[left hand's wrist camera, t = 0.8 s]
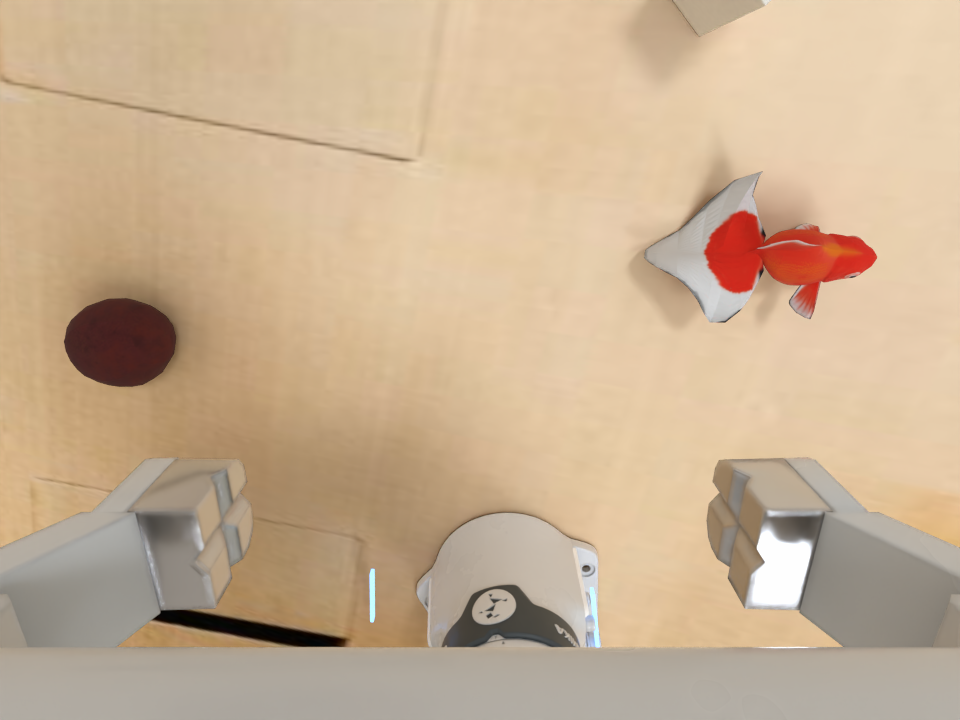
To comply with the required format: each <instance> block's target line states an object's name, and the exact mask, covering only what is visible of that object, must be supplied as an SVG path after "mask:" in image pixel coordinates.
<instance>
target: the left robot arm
mask: <svg viewBox="0 0 960 720" xmlns="http://www.w3.org/2000/svg"><path fill="white" fill-rule="evenodd" d="M246 483H247V477H246V473H245V468H244V464H243V463H242V462H241V461H240V460H239V459H211V458H178V457H174V458H150V459H145V460H144V461H143V462H142V463H141V464H140V465H139V466H138V467H137V468H136V469H135V470H134V471H133V472H132V473H131V474H130V475H129V476H128V477H127V478H126V479H125V480H124V481H123V482H122V483H121V484H120V485H118V486H117V487H116V488H115V489H114V490H113V491H112V492H111V493H110V494H109V495H108V496H107V497H106V498H105V499H104V500H103V501H102V502H101V503H100V504H99V505H98V506H97V507H96V508H95V509H94V510H93V511H92V512H81V513H79V514H76V515H74V516H72V517H69V518H67V519H65V520H62V521H60V522H58V523H56V524H53V525H51V526H49V527H46V528H44V529H42V530H40V531H37V532H35V533H33V534H30V535H28V536H26V537H23V538H21V539H19V540H17V541H14V542H12V543H10V544H7V545H5V546H3V547H1V548H0V720H960V548H959V547H957V546H955V545H952V544H950V543H948V542H946V541H943V540H941V539H939V538H936V537H934V536H932V535H930V534H927V533H925V532H923V531H920V530H918V529H916V528H913V527H911V526H909V525H907V524H904V523H902V522H900V521H897V520H895V519H893V518H891V517H888V516H886V515H884V514H881V513H879V512H868V511H867V510H866V509H865V508H864V507H863V506H862V505H861V504H860V503H859V502H858V501H857V500H856V499H855V498H854V497H853V496H852V495H851V494H850V493H849V492H848V491H847V490H846V489H845V488H844V487H843V486H842V485H841V484H840V483H839V482H838V481H837V480H836V479H834V478H833V477H832V476H831V475H830V474H829V473H828V472H827V471H826V470H825V469H824V468H823V467H822V466H821V465H820V464H819V463H818V462H817V461H816V460H814V459H811V458H808V457H801V458H771V459H730V460H719V461H718V463H717V466H716V468H715V471H714V477H713V483H714V484H715V486H716V488H717V489H718V491H719V492H720V493H719V494H718V495H717V496H716V497H715V498H714V499H713V500H712V501H711V502H710V503H709V507H708V514H707V530H708V538H709V541H710V544H711V548H712V550H713V552H714V554H715V555H716V557H717V559H718V560H720V561H721V562H723V563H724V564H726V565H727V566H729V567H730V569H729V575H728V579H729V581H730V583H731V585H732V586H733V588H734V590H735V592H736V594H737V595H738V597H739V599H740V601H741V603H742V604H743V606H744V608H745V609H777V610H800V612H799V613H801V614H802V615H803V616H805V617H806V618H807V619H808V620H810V621H811V622H812V623H814V624H815V625H816V626H817V627H819V628H820V629H821V630H823V631H824V632H825V633H826V634H828V635H829V636H830V637H832V638H833V639H834V640H835V641H837V642H838V643H839V644H841V645H842V646H843V647H601V640H600V635H599V632H598V555H597V550H596V549H595V548H594V547H593V546H592V545H590V544H587V543H585V542H581V541H578V540H574V539H570V538H569V537H567V536H565V535H564V534H562V533H561V532H560V531H559V530H557V529H556V528H555V527H553V526H552V525H550V524H549V523H547V522H545V521H543V520H541V519H538V518H536V517H533V516H529V515H525V514H519V513H495V514H490V515H485V516H482V517H479V518H476V519H473V520H471V521H469V522H467V523H466V524H464V525H462V526H461V527H459V528H458V529H457V530H455V531H454V532H453V533H452V534H451V535H450V536H449V537H448V538H447V540H446V541H445V542H444V544H443V545H442V547H441V549H440V551H439V553H438V556H437V559H436V561H435V564H434V566H433V567H432V568H431V569H430V570H429V571H428V572H427V573H426V574H425V575H424V576H423V577H422V578H421V579H420V580H419V582H418V583H417V596H418V598H419V600H420V601H421V603H422V604H423V606H424V607H425V609H426V610H427V612H428V633H427V640H428V645H429V647H117V646H118V645H120V644H121V643H122V642H124V641H125V640H126V639H127V638H129V637H130V636H131V635H133V634H134V633H135V632H136V631H138V630H139V629H140V628H142V627H143V626H144V625H145V624H147V623H148V622H149V621H151V620H152V619H153V618H154V617H156V616H157V615H158V614H160V610H182V609H215V608H216V606H217V604H218V603H219V601H220V599H221V597H222V595H223V594H224V592H225V590H226V588H227V586H228V585H229V583H230V581H231V579H232V575H231V569H230V567H231V566H233V565H234V564H236V563H237V562H239V561H240V560H242V559H243V557H244V555H245V554H246V552H247V550H248V548H249V545H250V540H251V536H252V532H253V513H252V506H251V503H250V502H249V501H248V500H247V499H246V498H245V497H244V496H243V495H242V494H241V493H240V492H241V491H242V489H243V488H244V486H245V484H246ZM585 565H588V566H587V567H583V566H585ZM374 618H375V573H374V569H371V572H370V622H374Z"/></svg>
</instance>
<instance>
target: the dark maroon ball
mask: <svg viewBox="0 0 960 720" xmlns="http://www.w3.org/2000/svg"><path fill="white" fill-rule="evenodd" d="M175 343H176V335H175V331H174V328H173V325H172V324H171V322H170V321H169V320H168V318H167V317H166V316H165V315H164V314H162V313H161V312H160V311H158V310H157V309H155V308H154V307H152V306H150V305H147V304H144V303H141V302H138V301H135V300H131V299H126V298H123V299H107V300H103V301H100V302H98V303H95V304H92V305H89V306H87V307H86V308H84V309H83V310H82V311H81V312H80V313H78V314H77V315H76V316H75V317H74V318H73V319H72V320H71V321H70V323H69V325H68V327H67V329H66V335H65V340H64V344H65V349H66V352H67V354H68V357H69V359H70V361H71V362H72V363H73V365H74V366H75V367H76V368H77V370H79V371H80V372H81V373H82V374H83V375H84V376H86V377H89V378H91V379H93V380H95V381H97V382H100V383H103V384H107V385H112V386H119V387H133V386H138V385H143V384H145V383H147V382H148V381H150V380H152V379H154V378H155V377H156V376H158V375H159V374H160V373H162V372H163V370H164V369H165V367H166V366H167V364H168V362H169V361H170V359H171V358H172V356H173V354H174V350H175Z"/></svg>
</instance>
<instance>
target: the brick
mask: <svg viewBox="0 0 960 720" xmlns="http://www.w3.org/2000/svg"><path fill="white" fill-rule="evenodd" d="M673 1H674V3H675V4H676V6H677V7H678V8H679V10H680V11H681V12H682V14H683V15H684V17H685V18H686V19H687V21H688V22H689V24H690V25H691V26H692V28H693V29H694V30H695V32H696V33H697V35H698V36H699V37H700V36H702V35H704V34H706V33H709V32H711V31H713V30H715V29H717V28H719V27H721V26H723V25H725V24H728V23H730V22H732V21H734V20H736V19H738V18H740V17H742V16H744V15H747V14H749V13H751V12H753V11H755V10H757V9H759V8H761V7H763V6H766V5H767V4H768V3H769V2H770V1H771V0H673Z"/></svg>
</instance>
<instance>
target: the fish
mask: <svg viewBox="0 0 960 720" xmlns="http://www.w3.org/2000/svg"><path fill="white" fill-rule="evenodd" d="M762 172H763V171H762ZM762 172H759V173H756V174H753V175H749V176H746V177H743V178H740V179H737V180H734V181H733V182H732V183H730V184H729V185H728V186H727V187H726V188H724V189H723V190H722V191H721V192H719V193H718V194H717V195H716V196H715V197H713V198H712V199H711V200H710V201H709V202H708V203H707V204H706V205H705V206H704V207H703V208H702V209H701V210H700V211H699V212H698V213H697V214H696V215H695V216H694V217H693V218H692V219H691V220H690V221H688V222H687V223H686V224H685V225H684V226H683V227H682V228H681V229H680V230H679V231H677V232H675V233H673V234H671V235H669V236H667V237H666V238H664V239H662V240H661V241H659V242H657V243H655V244H654V245H652V246H650V247H649V248H647V249H646V250H645V257H644V258H645V259H646V260H647V261H648V262H649V263H651V264H653V265H654V266H656V267H657V268H659V269H661V270H663V271H665V272H666V273H668V274H670V275H672V276H674V277H676V278H678V279H679V280H680V281H681V282H682V283H683V284H685V285H686V286H687V287H688V288H689V290H690V291H691V292H692V293H693V295H694V296H695V297H696V299H697V300H698V302H699V304H700V306H701V308H702V310H703V312H704V314H705V316H706V317H707V319H708V320H709V322H726V321H728V320H729V319H730V318H731V317H733V316H734V315H735V314H736V313H738V312H739V311H740V310H741V309H742V307H743V306H744V305H745V304H746V302H747V301H748V299H749V298H750V296H751V294H752V292H753V291H754V289H755V287H756V285H757V283H758V281H759V279H760V277H761V275H762V273H763V271H764V269H763V265H764V266H765V268H766V269H767V271H768V272H769V274H770V275H771V276H772V277H773V278H774V279H776V280H777V281H779V282H781V283H784V284H787V285H800V286H799V288H798V289H797V290H796V292H795V293H794V295H793V296H792V297H791V299H790V300H789V304H790V306H791V307H792V308H793V310H794V311H795V312H796V313H798V314H800V315H801V316H803V317H805V318H808V319H811V316H812V314H813V312H814V308H815V304H816V300H817V296H818V291H819V287H820V283H821V281H822V282H829V281H833V280H838V279H845V278H853V277H856V276H858V275H860V274H861V273H862V272H864V271H865V270H867V269H868V268H870V267H871V266H872V265H873V263H874V262H875V260H876V259H877V256H876V254H875V252H874V251H873V249H872V248H870V247H869V246H867V245H866V244H865V243H864V241H863V240H862V239H860V238H859V237H857V236H843V235H837V234H829V235H827V234H824V233H821V232H820V229H819V227H818V226H814V225H811V224H801V225H799V226H798V227H796V228H795V229H792V230H786V231H781V232H779V233H777V234H775V235H773V236H772V237H770V238H769V239H768V240H767V241H766V242H765V243H764V240H765V236H766V235H765V232H764V230H763V227H762V225H761V222H760V220H759V217H758V213H757V208H756V204H755V201H754V197H753V192H754V189H755V187H756V184H757V181H758V178H759V176H760V175H761V173H762Z"/></svg>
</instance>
